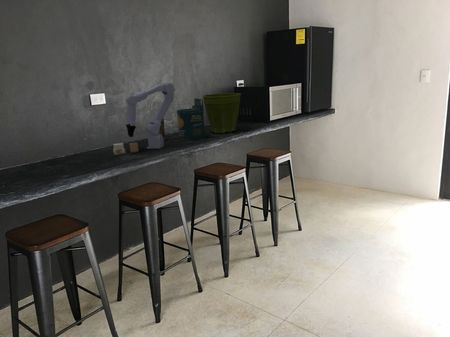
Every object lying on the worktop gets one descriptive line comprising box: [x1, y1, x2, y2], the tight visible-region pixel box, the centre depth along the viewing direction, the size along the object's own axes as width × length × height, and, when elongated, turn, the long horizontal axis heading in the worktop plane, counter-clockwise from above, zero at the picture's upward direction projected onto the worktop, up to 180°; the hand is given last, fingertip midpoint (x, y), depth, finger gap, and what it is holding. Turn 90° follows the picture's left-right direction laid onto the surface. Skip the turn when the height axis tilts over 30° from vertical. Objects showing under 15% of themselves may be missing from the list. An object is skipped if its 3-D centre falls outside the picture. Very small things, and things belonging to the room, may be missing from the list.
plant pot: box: [202, 92, 242, 134], centre depth 294 cm, size 30×30×29 cm
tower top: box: [113, 142, 125, 150], centre depth 239 cm, size 6×6×3 cm
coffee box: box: [158, 117, 166, 142], centre depth 271 cm, size 9×6×16 cm
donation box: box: [176, 97, 206, 142], centre depth 272 cm, size 16×16×28 cm
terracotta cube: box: [129, 142, 139, 153], centre depth 242 cm, size 4×4×5 cm
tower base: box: [112, 148, 126, 155], centre depth 239 cm, size 6×6×3 cm
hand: (130, 136), depth 241 cm, fingers open, 7 cm apart
